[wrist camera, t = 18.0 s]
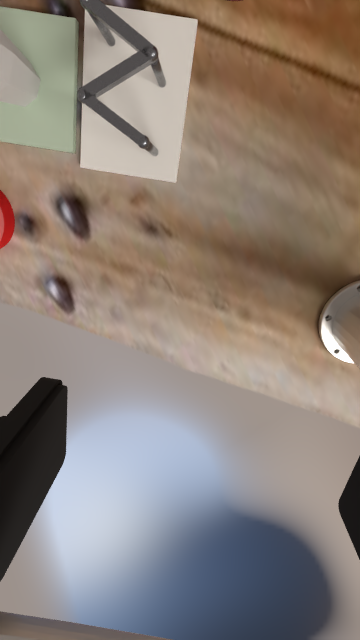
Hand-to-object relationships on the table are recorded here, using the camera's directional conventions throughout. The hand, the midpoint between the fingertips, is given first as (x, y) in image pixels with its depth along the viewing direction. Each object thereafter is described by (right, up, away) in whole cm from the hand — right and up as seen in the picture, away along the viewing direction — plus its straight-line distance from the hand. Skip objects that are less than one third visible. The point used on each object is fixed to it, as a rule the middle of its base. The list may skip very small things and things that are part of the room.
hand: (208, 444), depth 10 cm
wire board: (-6, +29, +28) cm, 41 cm away
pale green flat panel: (-19, +32, +28) cm, 46 cm away
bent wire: (-6, +29, +28) cm, 41 cm away
